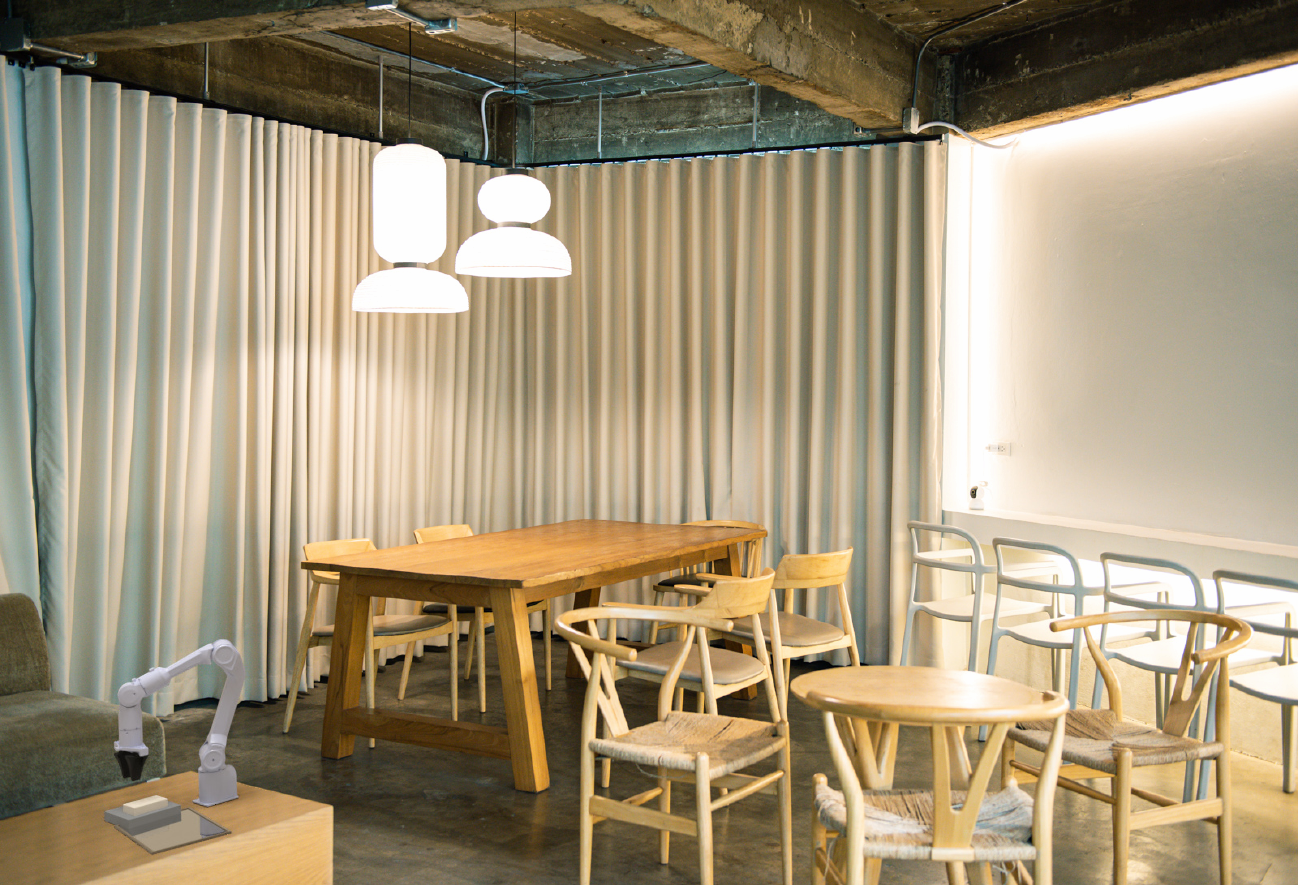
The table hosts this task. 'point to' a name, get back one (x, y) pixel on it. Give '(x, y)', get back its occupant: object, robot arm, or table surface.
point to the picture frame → (174, 831)
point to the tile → (145, 805)
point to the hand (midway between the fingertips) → (131, 778)
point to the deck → (140, 816)
